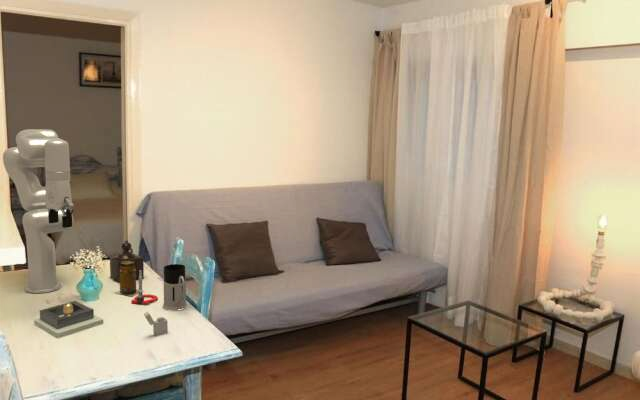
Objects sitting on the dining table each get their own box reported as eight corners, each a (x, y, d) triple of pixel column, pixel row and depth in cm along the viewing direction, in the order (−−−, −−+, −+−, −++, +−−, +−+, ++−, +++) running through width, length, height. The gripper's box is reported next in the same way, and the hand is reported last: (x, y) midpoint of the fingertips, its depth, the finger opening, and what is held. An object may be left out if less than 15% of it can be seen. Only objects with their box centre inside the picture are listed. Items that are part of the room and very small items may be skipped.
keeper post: (62, 319, 168) (61, 303, 167) (71, 316, 170) (70, 301, 169) (66, 322, 166) (65, 306, 165) (75, 319, 168) (74, 303, 167)
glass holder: (182, 300, 193) (182, 262, 190) (196, 313, 181) (195, 272, 178) (159, 304, 188) (158, 265, 185) (171, 317, 176) (171, 276, 174)
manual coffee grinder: (108, 278, 214) (106, 236, 211) (133, 273, 222) (131, 233, 219) (124, 287, 204) (123, 244, 201) (150, 281, 212) (149, 240, 209)
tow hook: (141, 296, 196) (128, 303, 187) (141, 263, 195) (128, 269, 186) (161, 298, 195) (149, 306, 186) (161, 265, 194) (150, 271, 185)
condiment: (128, 287, 204) (127, 259, 202) (144, 291, 201) (144, 262, 199) (114, 293, 198) (113, 263, 196) (130, 297, 194) (130, 267, 192)
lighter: (165, 330, 166) (165, 307, 164) (167, 332, 164) (167, 309, 163) (144, 336, 161) (143, 312, 160) (145, 338, 160) (145, 314, 159)
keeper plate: (34, 324, 167) (34, 319, 167) (78, 311, 179) (78, 307, 179) (58, 338, 158) (57, 333, 157) (103, 323, 170) (103, 319, 169)
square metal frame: (39, 319, 168) (39, 310, 167) (75, 308, 177) (75, 300, 176) (57, 329, 160) (57, 320, 160) (93, 318, 170) (93, 309, 169)
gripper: (35, 174, 176) (37, 222, 179) (59, 179, 166) (61, 230, 169) (56, 173, 182) (59, 219, 185) (81, 178, 172) (83, 227, 175)
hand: (60, 224), depth 177 cm, fingers open, 9 cm apart
